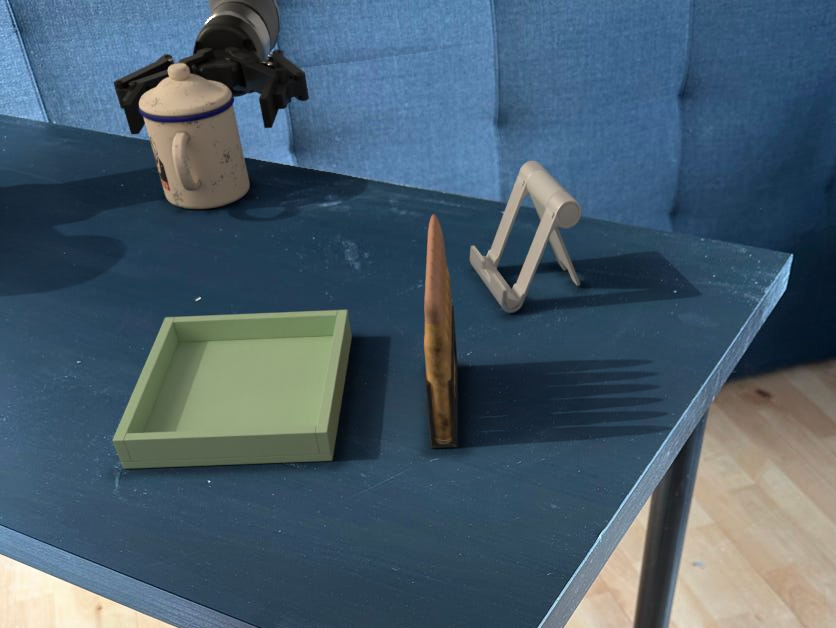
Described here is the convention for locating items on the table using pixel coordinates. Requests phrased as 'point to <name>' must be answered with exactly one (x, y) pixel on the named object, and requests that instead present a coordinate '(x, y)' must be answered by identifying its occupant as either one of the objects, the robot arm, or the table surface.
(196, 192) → the teacup with lid
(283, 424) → the tray
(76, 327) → the table surface
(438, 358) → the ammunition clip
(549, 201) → the tablet stand
